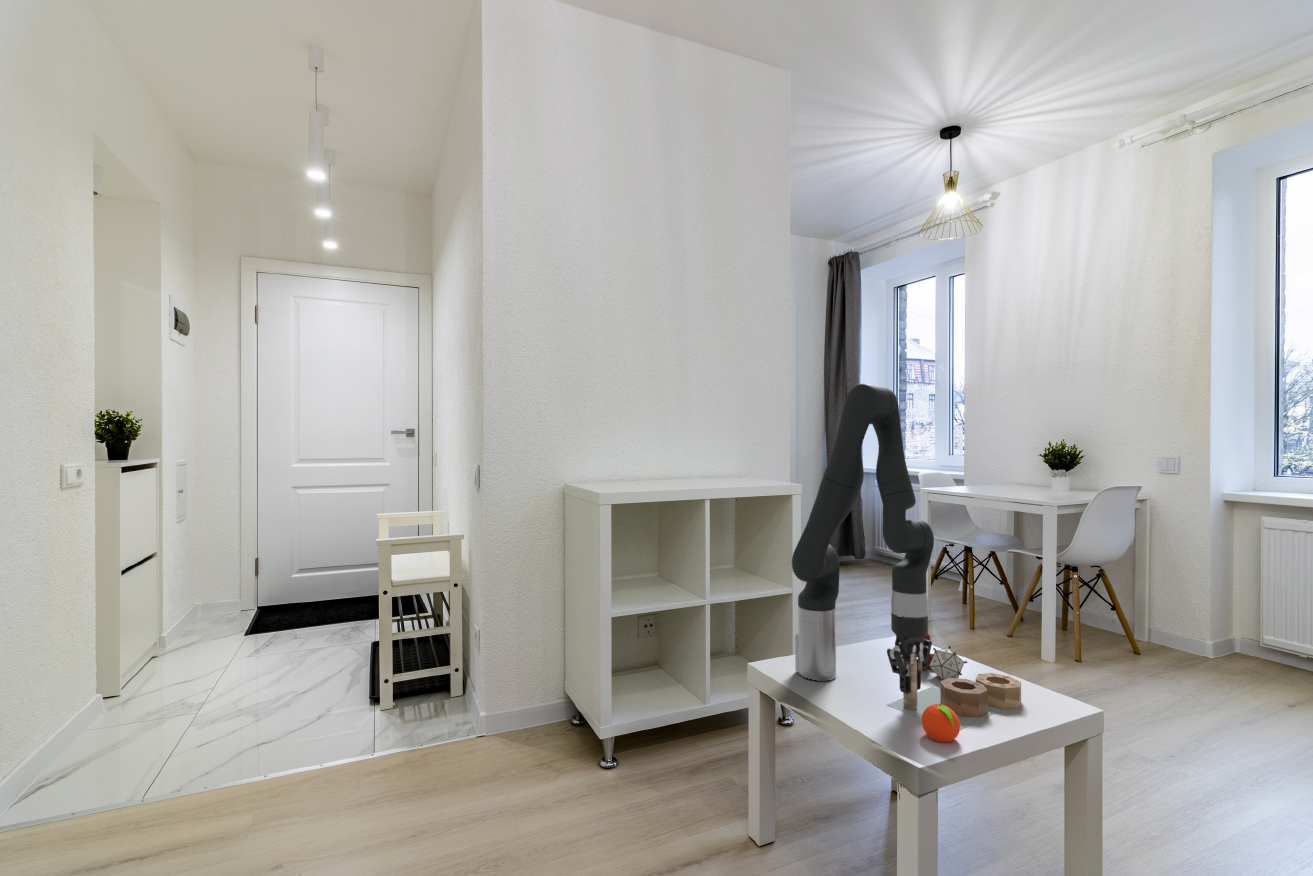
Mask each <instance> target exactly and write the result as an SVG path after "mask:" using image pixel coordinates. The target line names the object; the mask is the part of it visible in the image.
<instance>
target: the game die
mask: <svg viewBox="0 0 1313 876" xmlns="http://www.w3.org/2000/svg"><path fill="white" fill-rule="evenodd" d="M951 647H952V646H951V645H949V646H948V648H944V649H943V648H942V649H936V647H932V650H933V652H934V653H931V654H932V656H933V657H932V659H931V662H930V664H929V666H927V667H926V668H925V669H930V668H931V669H930V670H931V671H933V672H934V673H935V675H937V676H938V677H939V679H941V681H942V680H945V679H948V678H959V677H960V676H963V674H962V669H963V667H964V664H968V661H967V660H963V659H961V657H960V656H958V655H957V652H956V651H953V650H952V649H951ZM928 667H930V668H928Z"/></svg>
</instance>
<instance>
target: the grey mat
mask: <svg viewBox="0 0 1313 876" xmlns="http://www.w3.org/2000/svg"><path fill="white" fill-rule="evenodd" d="M933 704H941V700H940V688H938V687H934V686H930V687H928V688H925V689H922V690H919V691H917V710H914V711H913V710H907V709H905V708H904V700H903V698H900V699H898V700H896V701H892V702H891V703H890V702H889V703H887V704H886V706H887V707H890V708H893V709H895V710H898V711H900V712H903V713H906V714H907V715H910V716H914V718H915V717H916V718H918V719H922V714H923V712H924V710H925V709H926V708H927V707H928V706H930V705H933ZM1000 711H1001V708H998V707H994V706H990V705H988V714H986V715H984V716H982V717H980V718H975V717H961V716H958V715H957V717H958V719H959V722H960V731H962V730H963V729H966V728H968V727H970V726H972V725H974V724H976V723H977V722H980V721H982V720H984V719H987V718H988V717H990V716H992V715H994V714H996V713H998V712H1000Z"/></svg>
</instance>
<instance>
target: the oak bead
mask: <svg viewBox="0 0 1313 876" xmlns="http://www.w3.org/2000/svg"><path fill="white" fill-rule="evenodd" d="M975 682H978V683H981V684H983V685H984V687H985V688H986V689H987V690H988V706H991V707H994V708H998V709H1006V710H1007V709H1017V708H1019V709H1020V708H1021V705H1022V681H1019V680H1018V679H1015V678H1014V677H1012V676H1010V675H1005V674H1000V673H994V672H989V673H988V672H987V673H977V675H976V677H975Z"/></svg>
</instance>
